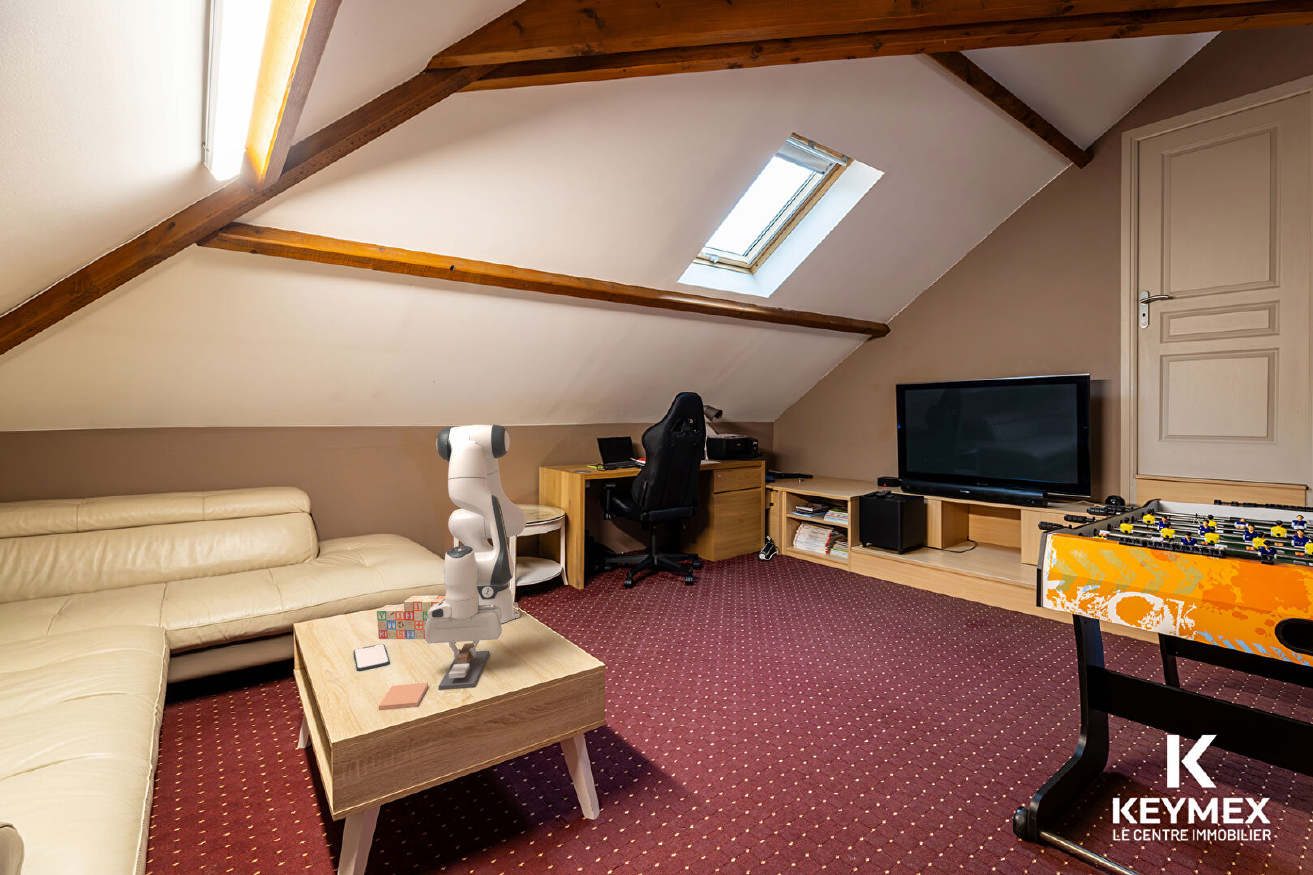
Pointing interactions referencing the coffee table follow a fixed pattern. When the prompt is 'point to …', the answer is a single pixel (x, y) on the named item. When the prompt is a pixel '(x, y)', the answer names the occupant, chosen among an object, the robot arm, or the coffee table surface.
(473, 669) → the rubber mat
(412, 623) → the stack of blocks
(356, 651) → the smartphone
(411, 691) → the tile
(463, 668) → the brown handled tool
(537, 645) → the coffee table surface
